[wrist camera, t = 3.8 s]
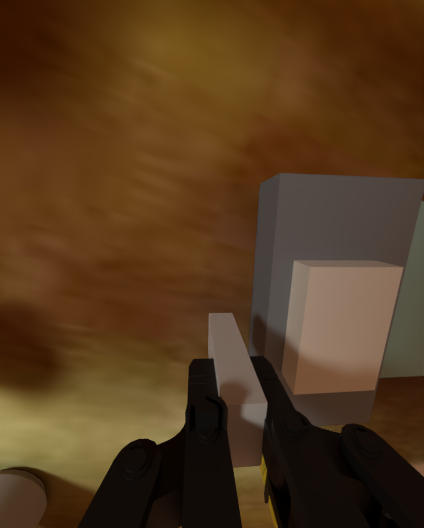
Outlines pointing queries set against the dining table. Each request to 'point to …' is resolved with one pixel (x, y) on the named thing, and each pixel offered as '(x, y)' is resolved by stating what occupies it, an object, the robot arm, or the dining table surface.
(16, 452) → the dining table surface
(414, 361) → the mat
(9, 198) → the dining table surface
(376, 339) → the beige rectangular block
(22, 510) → the can
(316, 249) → the board
